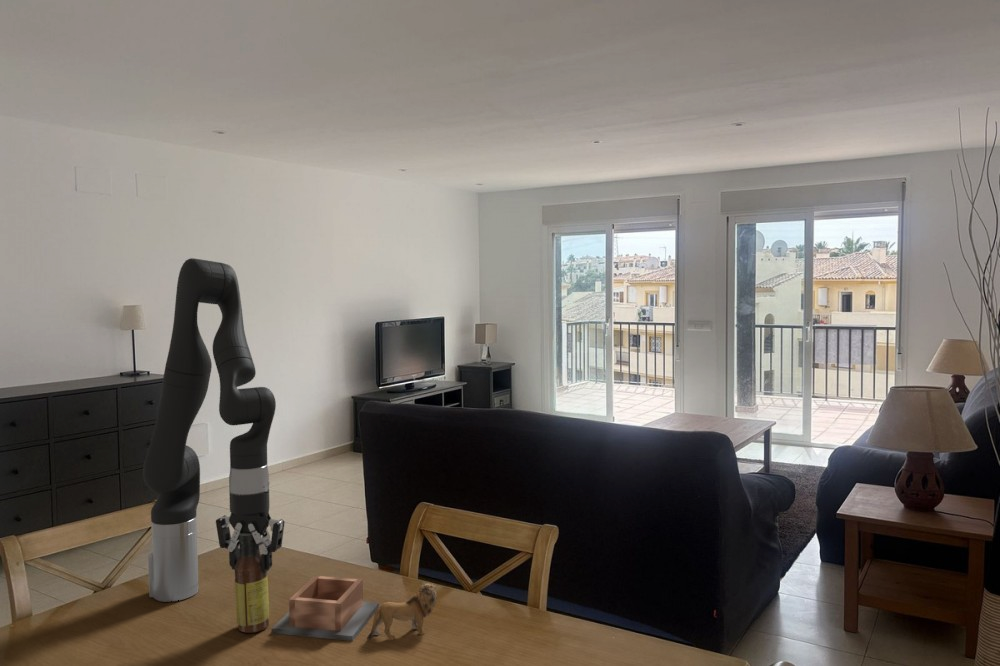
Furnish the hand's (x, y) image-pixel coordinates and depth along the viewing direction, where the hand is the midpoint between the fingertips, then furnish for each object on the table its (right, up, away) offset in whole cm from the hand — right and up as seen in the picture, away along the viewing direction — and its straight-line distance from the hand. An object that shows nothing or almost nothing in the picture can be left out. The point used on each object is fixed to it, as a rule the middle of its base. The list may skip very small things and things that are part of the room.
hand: (251, 569), depth 145 cm
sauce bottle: (0, -12, +1) cm, 12 cm away
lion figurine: (+31, -13, -1) cm, 34 cm away
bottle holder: (+14, -12, +4) cm, 19 cm away
